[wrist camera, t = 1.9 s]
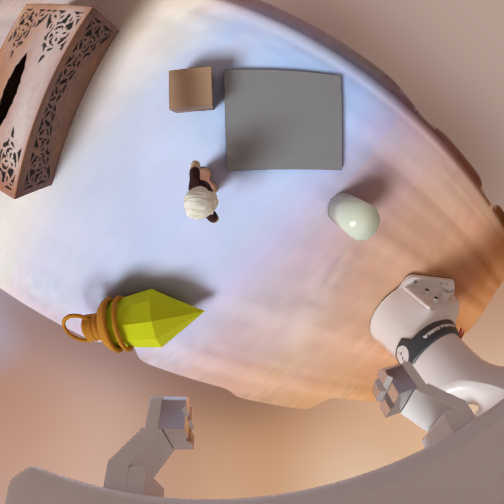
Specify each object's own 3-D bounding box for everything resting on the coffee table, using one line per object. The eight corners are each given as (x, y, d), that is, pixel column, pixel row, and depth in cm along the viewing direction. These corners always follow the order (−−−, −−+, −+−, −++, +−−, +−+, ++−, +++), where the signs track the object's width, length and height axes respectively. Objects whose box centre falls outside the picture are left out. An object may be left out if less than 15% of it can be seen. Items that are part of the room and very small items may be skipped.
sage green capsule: (358, 192, 39) (381, 203, 33) (356, 224, 41) (377, 239, 35) (328, 192, 39) (348, 203, 32) (326, 225, 41) (344, 241, 34)
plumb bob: (197, 269, 42) (59, 293, 38) (203, 312, 35) (45, 333, 31) (205, 309, 47) (80, 327, 43) (213, 351, 40) (73, 366, 36)
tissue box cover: (52, 184, 34) (14, 199, 25) (1, 158, 30) (-36, 167, 21) (119, 31, 26) (92, 6, 17) (57, 20, 22) (26, 3, 13)
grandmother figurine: (179, 169, 36) (158, 183, 24) (203, 155, 35) (192, 161, 23) (208, 215, 38) (201, 250, 27) (231, 202, 38) (235, 230, 26)
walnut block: (212, 75, 31) (211, 66, 26) (213, 109, 33) (211, 105, 28) (175, 79, 31) (168, 70, 26) (176, 113, 33) (169, 109, 28)
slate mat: (337, 77, 32) (340, 76, 31) (338, 169, 37) (341, 170, 37) (224, 71, 31) (224, 70, 30) (227, 170, 36) (227, 170, 35)
